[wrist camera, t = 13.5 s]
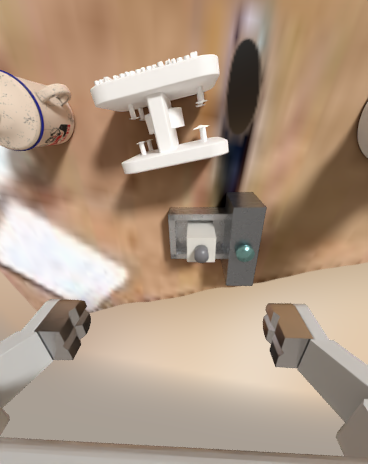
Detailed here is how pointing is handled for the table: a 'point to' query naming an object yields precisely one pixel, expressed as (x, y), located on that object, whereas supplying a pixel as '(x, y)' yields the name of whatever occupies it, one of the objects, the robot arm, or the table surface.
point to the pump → (201, 241)
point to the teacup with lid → (33, 113)
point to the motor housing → (225, 234)
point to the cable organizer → (163, 108)
